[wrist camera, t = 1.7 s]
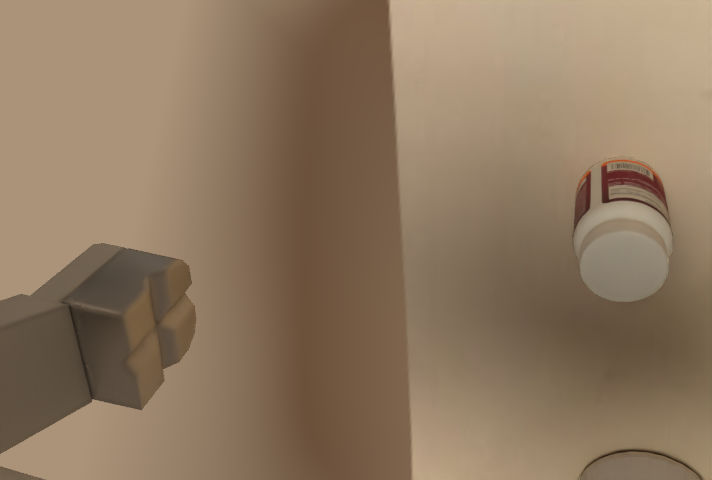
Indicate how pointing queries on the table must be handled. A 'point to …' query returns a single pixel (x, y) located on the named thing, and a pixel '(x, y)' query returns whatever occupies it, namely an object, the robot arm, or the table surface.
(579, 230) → the pill bottle
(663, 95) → the table surface
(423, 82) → the table surface
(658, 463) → the mug
